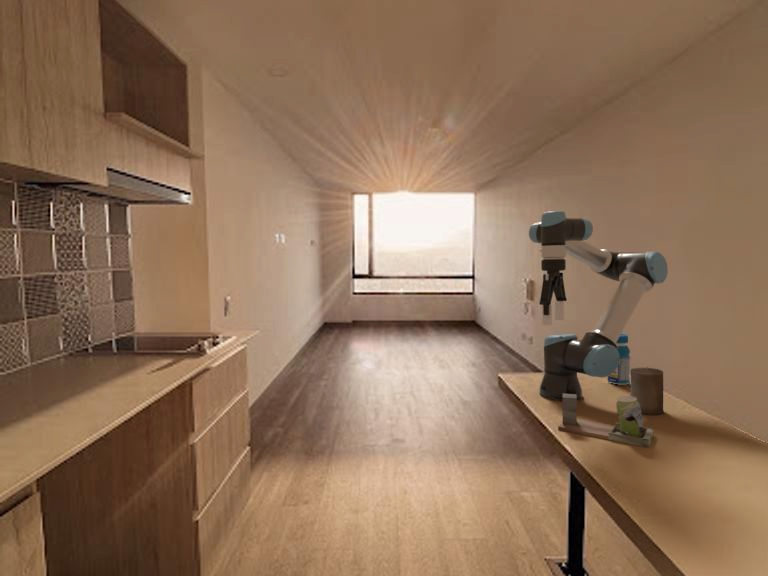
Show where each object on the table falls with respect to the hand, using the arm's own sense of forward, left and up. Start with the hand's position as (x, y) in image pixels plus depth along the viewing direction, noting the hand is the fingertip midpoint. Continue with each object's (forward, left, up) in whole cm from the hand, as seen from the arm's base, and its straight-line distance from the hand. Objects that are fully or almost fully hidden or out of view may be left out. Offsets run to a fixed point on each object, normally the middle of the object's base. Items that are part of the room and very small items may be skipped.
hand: (553, 322), depth 153 cm
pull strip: (+10, +17, -31) cm, 37 cm away
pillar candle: (-19, +25, -31) cm, 44 cm away
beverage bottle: (-51, +11, -31) cm, 61 cm away
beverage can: (+11, +25, -31) cm, 41 cm away
